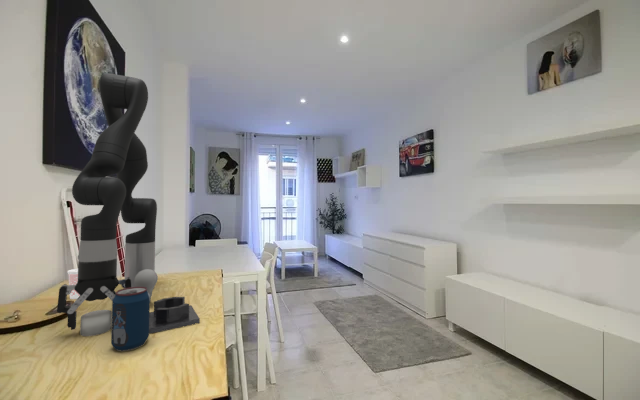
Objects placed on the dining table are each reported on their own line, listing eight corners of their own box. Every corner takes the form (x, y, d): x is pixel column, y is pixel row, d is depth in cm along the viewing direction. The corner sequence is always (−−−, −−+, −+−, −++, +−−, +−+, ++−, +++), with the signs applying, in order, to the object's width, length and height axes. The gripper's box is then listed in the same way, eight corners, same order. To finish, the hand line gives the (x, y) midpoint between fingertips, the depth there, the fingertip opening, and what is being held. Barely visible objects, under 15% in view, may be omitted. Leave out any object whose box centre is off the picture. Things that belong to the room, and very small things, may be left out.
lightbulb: (146, 309, 84) (147, 272, 84) (128, 307, 85) (129, 270, 85) (161, 302, 90) (162, 267, 90) (145, 301, 91) (146, 266, 91)
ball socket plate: (143, 317, 78) (144, 300, 78) (191, 309, 84) (191, 293, 84) (146, 334, 68) (146, 314, 68) (199, 323, 74) (199, 305, 74)
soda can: (149, 335, 67) (151, 284, 68) (147, 348, 61) (148, 292, 61) (114, 341, 64) (115, 287, 64) (107, 355, 58) (109, 296, 58)
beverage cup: (94, 295, 96) (95, 254, 96) (72, 301, 90) (73, 257, 91) (85, 293, 99) (86, 252, 99) (63, 298, 93) (64, 255, 93)
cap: (82, 328, 70) (83, 312, 70) (112, 323, 74) (112, 308, 74) (77, 338, 65) (78, 321, 65) (110, 332, 69) (110, 316, 69)
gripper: (132, 253, 77) (131, 313, 76) (62, 258, 69) (60, 325, 68) (133, 257, 71) (131, 323, 70) (56, 263, 63) (53, 337, 62)
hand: (96, 324), depth 69 cm, fingers open, 8 cm apart
